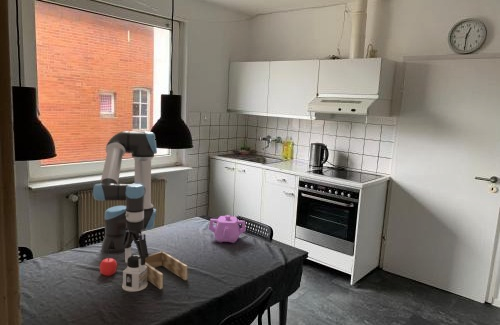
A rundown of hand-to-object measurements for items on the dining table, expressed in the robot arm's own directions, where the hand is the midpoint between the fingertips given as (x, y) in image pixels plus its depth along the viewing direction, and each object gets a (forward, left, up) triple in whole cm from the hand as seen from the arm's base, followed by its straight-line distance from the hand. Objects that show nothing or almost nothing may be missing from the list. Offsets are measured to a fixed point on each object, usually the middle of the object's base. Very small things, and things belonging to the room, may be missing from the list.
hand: (135, 266), depth 168 cm
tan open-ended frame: (0, +14, -9) cm, 17 cm away
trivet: (0, 0, -9) cm, 9 cm away
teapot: (-16, +69, -9) cm, 71 cm away
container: (0, 0, -9) cm, 9 cm away
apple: (-18, -4, -10) cm, 21 cm away
